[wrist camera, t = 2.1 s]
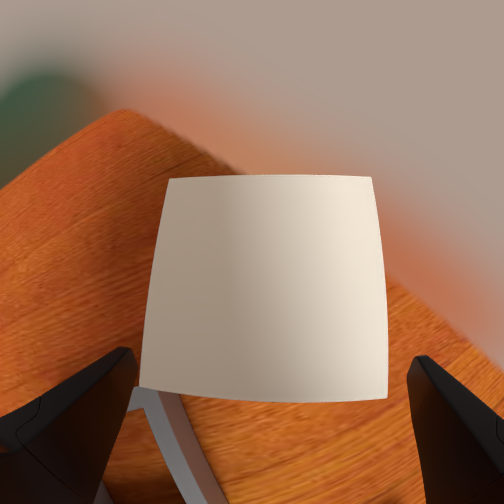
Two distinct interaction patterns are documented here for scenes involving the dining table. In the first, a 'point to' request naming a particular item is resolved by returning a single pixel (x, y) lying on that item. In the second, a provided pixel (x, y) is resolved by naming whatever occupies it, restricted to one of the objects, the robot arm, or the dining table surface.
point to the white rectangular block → (268, 291)
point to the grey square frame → (174, 447)
